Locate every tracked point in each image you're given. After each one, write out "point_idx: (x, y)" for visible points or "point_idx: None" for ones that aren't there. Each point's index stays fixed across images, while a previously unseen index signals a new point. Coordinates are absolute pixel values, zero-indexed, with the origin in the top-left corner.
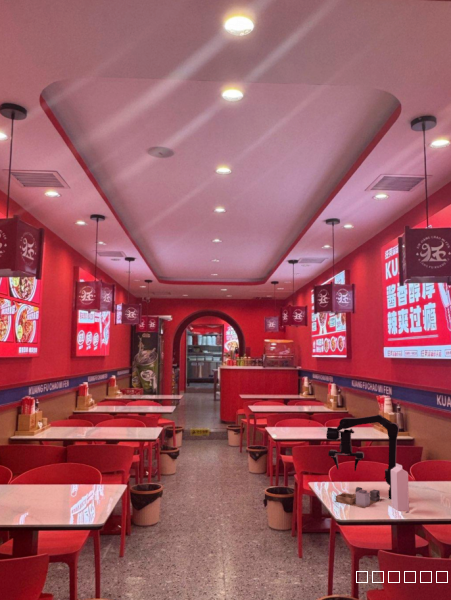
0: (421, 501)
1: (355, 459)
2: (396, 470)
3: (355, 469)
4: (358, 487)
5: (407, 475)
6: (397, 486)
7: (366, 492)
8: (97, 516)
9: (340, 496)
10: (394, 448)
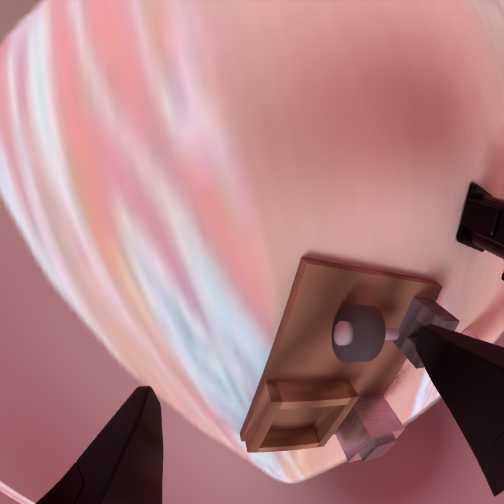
0: None
1: (494, 489)
2: None
3: (435, 365)
4: (367, 355)
5: None
6: None
7: (392, 438)
8: (30, 501)
9: (270, 448)
10: None
